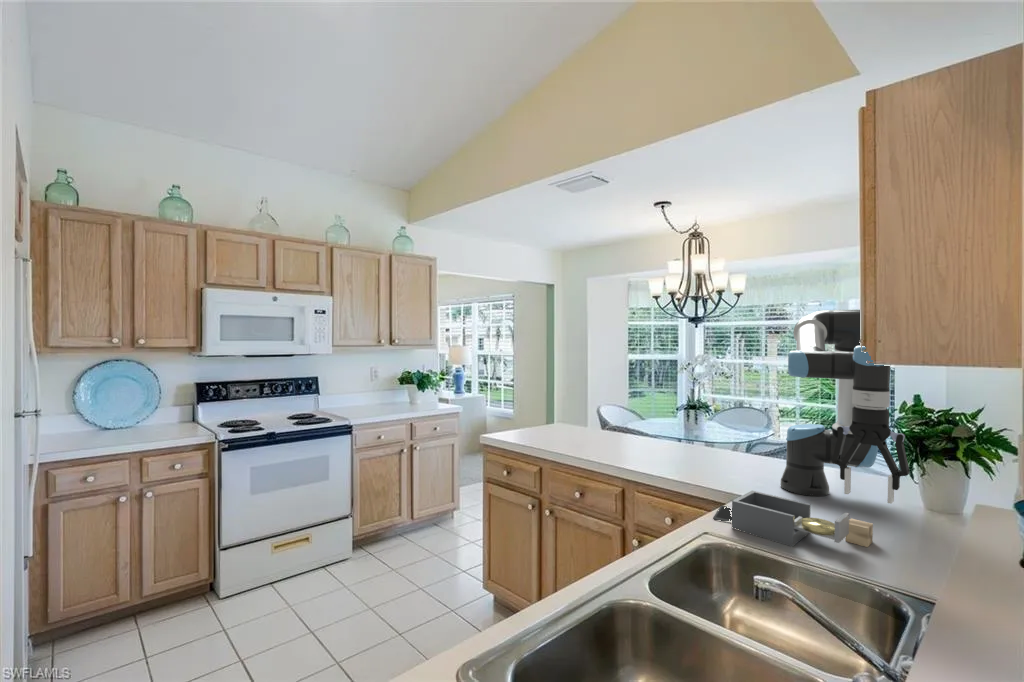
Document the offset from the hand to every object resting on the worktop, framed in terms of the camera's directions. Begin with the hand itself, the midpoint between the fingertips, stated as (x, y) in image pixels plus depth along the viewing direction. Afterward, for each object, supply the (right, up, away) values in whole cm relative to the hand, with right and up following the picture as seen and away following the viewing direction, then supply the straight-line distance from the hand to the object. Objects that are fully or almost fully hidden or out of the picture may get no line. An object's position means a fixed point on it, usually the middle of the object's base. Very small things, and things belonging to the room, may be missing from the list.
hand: (868, 497), depth 124 cm
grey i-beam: (-8, -12, +9) cm, 17 cm away
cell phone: (-22, -15, +29) cm, 39 cm away
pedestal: (+5, -15, +10) cm, 19 cm away
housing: (-16, -15, +17) cm, 28 cm away
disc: (-7, -11, +8) cm, 16 cm away
